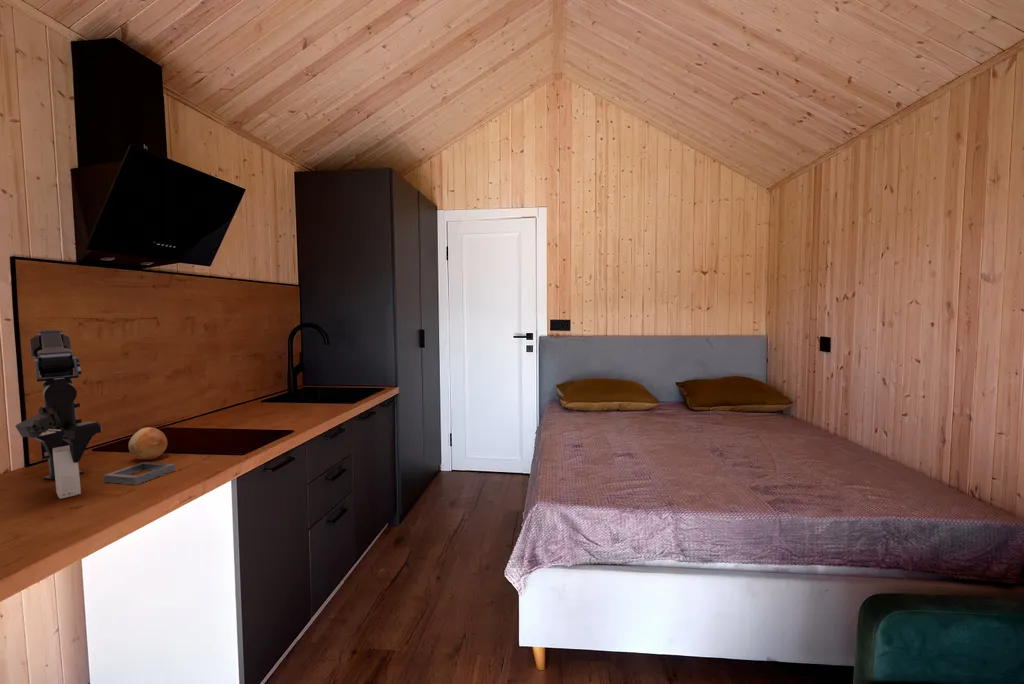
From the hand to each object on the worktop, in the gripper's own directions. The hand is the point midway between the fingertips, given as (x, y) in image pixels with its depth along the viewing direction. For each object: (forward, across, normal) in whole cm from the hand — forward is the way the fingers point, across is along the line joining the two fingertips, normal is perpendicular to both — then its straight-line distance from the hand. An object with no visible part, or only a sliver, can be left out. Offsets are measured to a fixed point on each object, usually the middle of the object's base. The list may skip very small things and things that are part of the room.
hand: (65, 461), depth 125 cm
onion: (+9, -7, +27) cm, 29 cm away
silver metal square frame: (+8, +6, +14) cm, 17 cm away
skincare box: (+9, 0, 0) cm, 9 cm away
